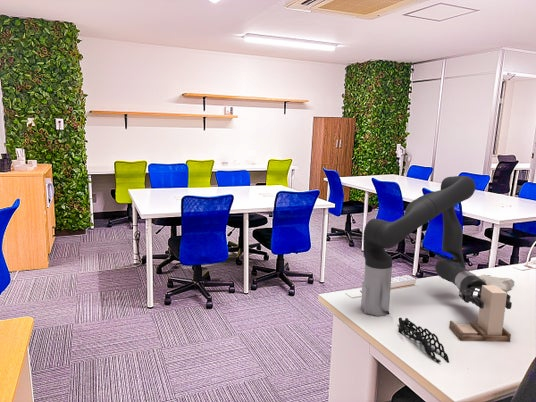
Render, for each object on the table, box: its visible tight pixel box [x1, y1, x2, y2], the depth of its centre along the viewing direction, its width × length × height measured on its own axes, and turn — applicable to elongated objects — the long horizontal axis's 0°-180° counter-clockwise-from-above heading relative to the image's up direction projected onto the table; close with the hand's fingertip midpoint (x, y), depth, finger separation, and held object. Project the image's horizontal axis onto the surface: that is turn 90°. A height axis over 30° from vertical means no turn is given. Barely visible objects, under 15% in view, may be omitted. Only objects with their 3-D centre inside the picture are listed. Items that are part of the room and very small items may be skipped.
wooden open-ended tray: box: [448, 320, 512, 343], centre depth 126 cm, size 15×8×4 cm, turn 89°
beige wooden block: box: [476, 285, 508, 336], centre depth 125 cm, size 4×6×15 cm
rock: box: [476, 274, 515, 293], centre depth 167 cm, size 21×5×15 cm
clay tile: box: [455, 323, 478, 335], centre depth 126 cm, size 4×6×2 cm
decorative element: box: [397, 317, 450, 364], centre depth 121 cm, size 22×5×6 cm, turn 14°
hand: (496, 305), depth 122 cm, fingers open, 8 cm apart
